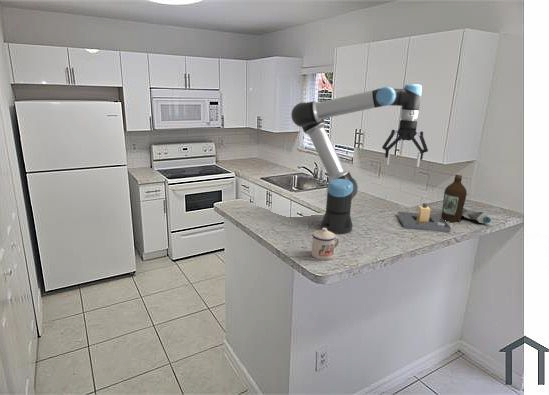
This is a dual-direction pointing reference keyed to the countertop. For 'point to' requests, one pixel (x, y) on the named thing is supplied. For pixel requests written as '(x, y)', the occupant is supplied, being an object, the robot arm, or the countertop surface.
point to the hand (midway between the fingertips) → (402, 165)
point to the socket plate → (434, 222)
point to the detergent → (476, 216)
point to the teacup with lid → (323, 244)
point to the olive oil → (454, 200)
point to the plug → (423, 213)
